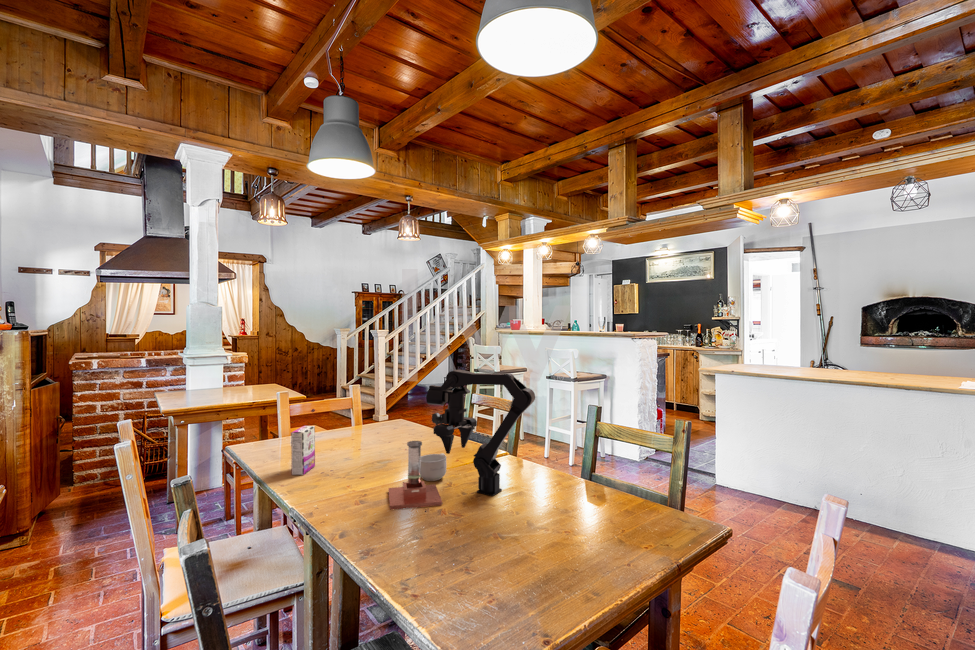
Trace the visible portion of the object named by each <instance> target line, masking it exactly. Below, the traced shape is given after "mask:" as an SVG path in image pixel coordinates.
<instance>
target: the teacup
mask: <svg viewBox="0 0 975 650" xmlns="http://www.w3.org/2000/svg"><path fill="white" fill-rule="evenodd" d="M446 473H447V455H446V454H445V453H429V454H424V455H421V479H423V481H427V482H435V481H439V480H441V479H442V478H443V477H444V476H445V475H446Z"/></svg>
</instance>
